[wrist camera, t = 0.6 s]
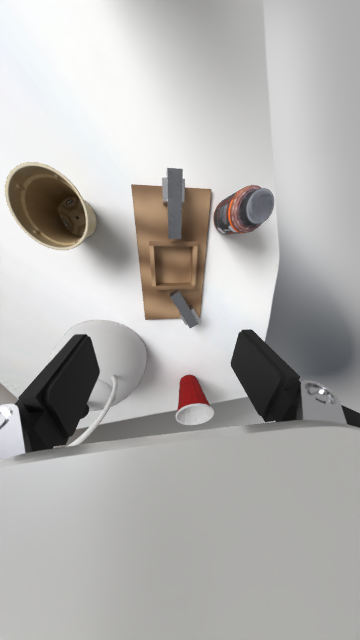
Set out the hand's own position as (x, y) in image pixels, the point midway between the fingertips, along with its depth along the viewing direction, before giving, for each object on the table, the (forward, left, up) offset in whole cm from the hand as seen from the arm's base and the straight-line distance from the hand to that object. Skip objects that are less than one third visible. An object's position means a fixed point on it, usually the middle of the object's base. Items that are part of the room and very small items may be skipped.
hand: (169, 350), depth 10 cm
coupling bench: (-1, +2, -27) cm, 27 cm away
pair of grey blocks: (-1, +5, -26) cm, 27 cm away
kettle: (+23, -17, -28) cm, 40 cm away
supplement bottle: (-10, +13, -28) cm, 32 cm away
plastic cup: (+37, +7, -28) cm, 46 cm away
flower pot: (-9, -15, -28) cm, 33 cm away
